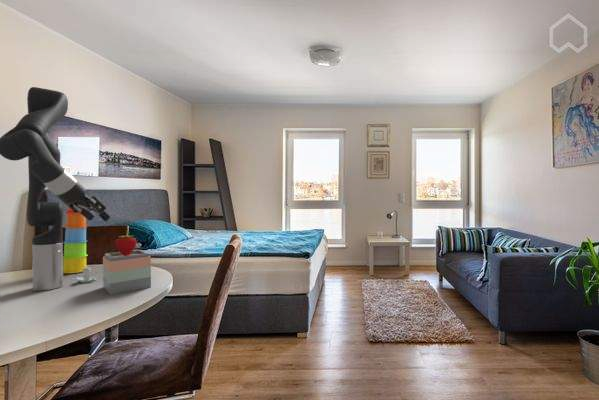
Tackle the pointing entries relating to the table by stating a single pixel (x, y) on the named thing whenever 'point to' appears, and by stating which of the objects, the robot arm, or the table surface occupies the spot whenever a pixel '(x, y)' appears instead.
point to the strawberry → (125, 244)
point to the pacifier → (86, 276)
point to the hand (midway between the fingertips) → (99, 219)
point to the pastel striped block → (126, 271)
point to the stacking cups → (74, 243)
